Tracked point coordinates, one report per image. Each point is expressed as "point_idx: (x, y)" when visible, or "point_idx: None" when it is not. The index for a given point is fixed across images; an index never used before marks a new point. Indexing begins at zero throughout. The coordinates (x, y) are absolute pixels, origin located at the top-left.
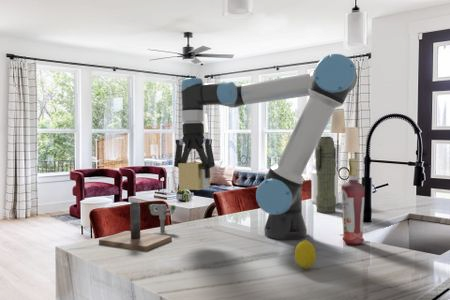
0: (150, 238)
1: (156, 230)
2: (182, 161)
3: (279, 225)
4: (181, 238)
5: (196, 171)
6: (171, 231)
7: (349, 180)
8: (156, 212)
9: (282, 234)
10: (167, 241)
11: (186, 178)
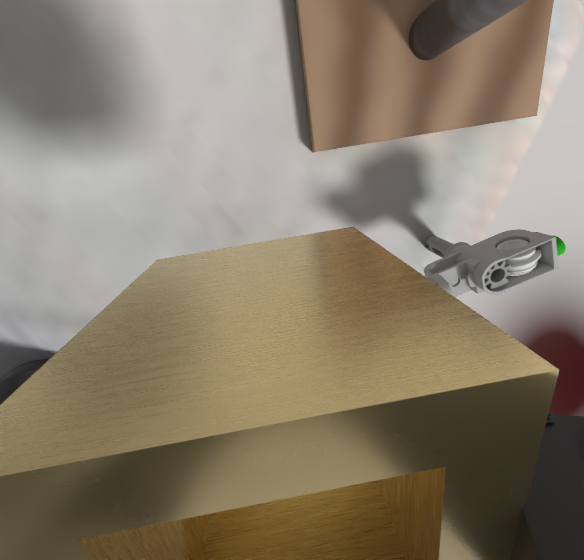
0: (366, 68)
1: (454, 234)
2: (556, 541)
3: (6, 397)
4: (303, 198)
5: (89, 348)
6: (397, 253)
7: None
8: (495, 242)
9: (12, 374)
10: (309, 121)
11: (282, 272)
